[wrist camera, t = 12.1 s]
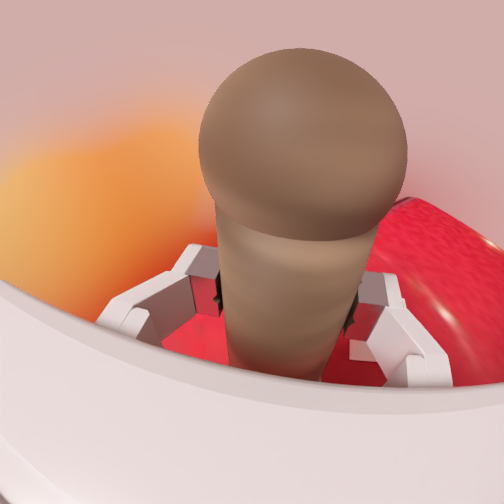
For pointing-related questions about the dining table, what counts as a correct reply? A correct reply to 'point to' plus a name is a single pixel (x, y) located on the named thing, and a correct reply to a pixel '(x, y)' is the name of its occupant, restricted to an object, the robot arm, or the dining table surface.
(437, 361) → the robot arm
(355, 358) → the die
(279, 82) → the pawn
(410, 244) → the dining table surface
